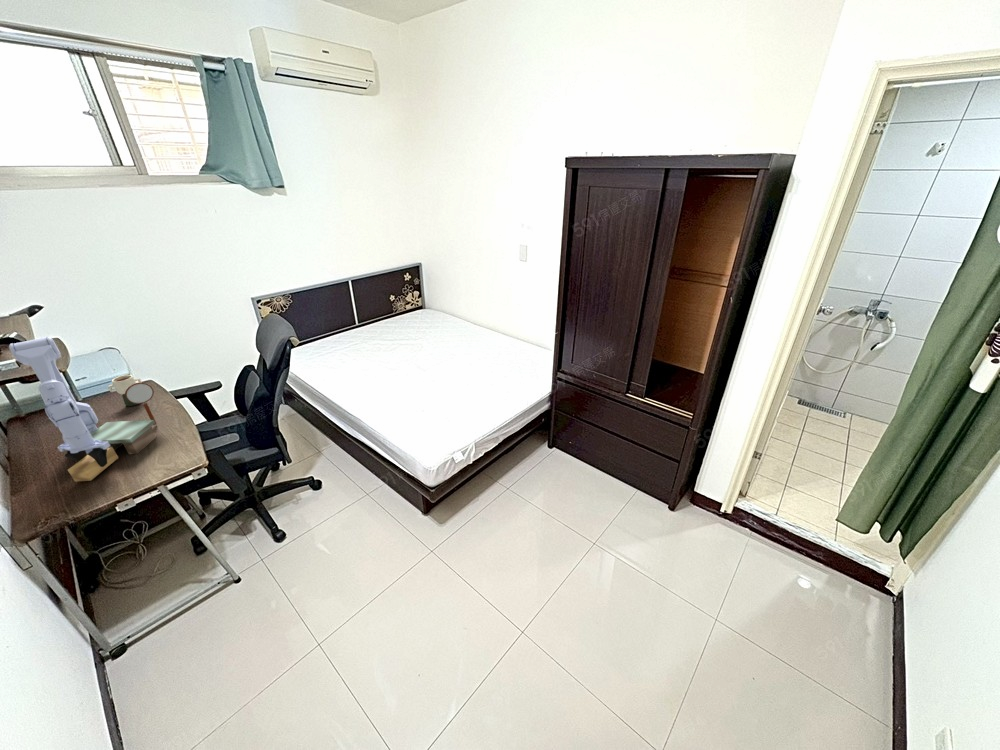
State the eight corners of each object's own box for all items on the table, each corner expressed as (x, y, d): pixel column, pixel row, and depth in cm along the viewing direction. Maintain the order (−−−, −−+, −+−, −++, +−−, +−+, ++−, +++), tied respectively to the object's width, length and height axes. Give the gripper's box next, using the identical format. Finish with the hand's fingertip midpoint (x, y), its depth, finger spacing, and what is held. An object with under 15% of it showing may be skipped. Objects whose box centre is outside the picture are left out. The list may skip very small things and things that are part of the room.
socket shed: (89, 459, 144) (79, 441, 141) (116, 438, 155) (106, 422, 152) (139, 456, 146) (129, 439, 142) (161, 436, 157) (153, 419, 153)
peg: (75, 481, 133) (67, 469, 131) (103, 458, 143) (97, 447, 141) (90, 480, 133) (83, 469, 131) (118, 457, 144) (112, 446, 142)
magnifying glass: (143, 431, 160) (121, 388, 150) (142, 430, 161) (120, 387, 151) (168, 421, 166) (149, 380, 157) (167, 420, 167) (147, 378, 158)
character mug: (148, 396, 185) (137, 371, 179) (150, 402, 180) (138, 376, 174) (118, 405, 178) (105, 379, 172) (119, 411, 174) (105, 385, 168)
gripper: (41, 442, 127) (63, 474, 134) (89, 439, 128) (108, 471, 135) (61, 429, 134) (81, 461, 140) (106, 427, 135) (124, 458, 141)
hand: (95, 465), depth 138 cm, fingers closed on peg, 5 cm apart
